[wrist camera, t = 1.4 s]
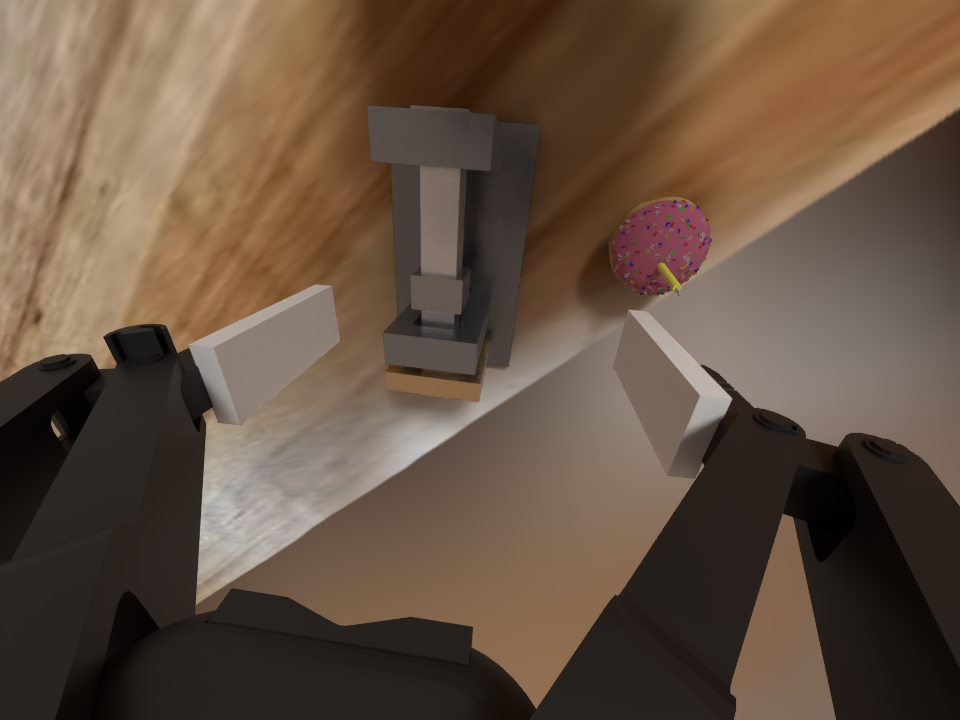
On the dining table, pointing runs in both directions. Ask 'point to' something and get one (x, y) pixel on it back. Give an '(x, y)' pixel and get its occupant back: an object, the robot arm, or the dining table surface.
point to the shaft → (441, 245)
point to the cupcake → (659, 245)
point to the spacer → (439, 380)
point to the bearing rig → (487, 227)
